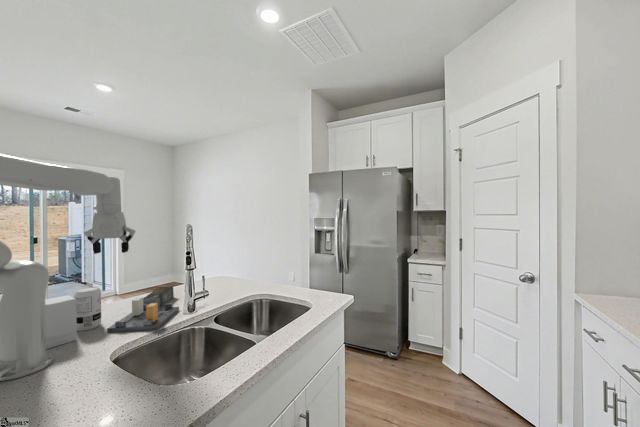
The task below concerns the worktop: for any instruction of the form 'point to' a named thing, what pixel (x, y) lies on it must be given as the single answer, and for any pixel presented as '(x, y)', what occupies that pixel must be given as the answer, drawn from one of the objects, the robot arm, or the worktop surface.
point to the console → (144, 320)
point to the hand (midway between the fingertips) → (111, 252)
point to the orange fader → (152, 311)
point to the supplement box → (60, 320)
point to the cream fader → (137, 306)
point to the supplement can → (88, 308)
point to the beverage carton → (159, 296)
